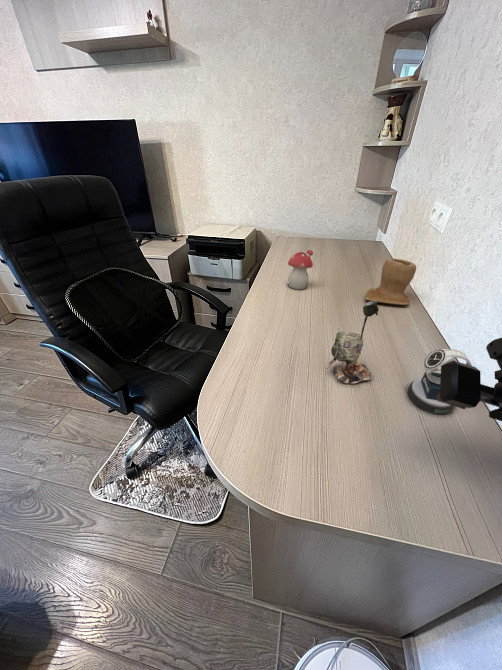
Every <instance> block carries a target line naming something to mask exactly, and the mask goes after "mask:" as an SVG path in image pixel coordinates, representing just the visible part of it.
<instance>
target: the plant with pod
mask: <svg viewBox="0 0 502 670" xmlns="http://www.w3.org/2000/svg"><path fill="white" fill-rule="evenodd" d="M362 313H363V316H365V317H364V320H363V324H362V327H361V328H362V329H361V333H356V332H352V331H347V330H342V331H338V330H340V328H337V333H336V335H335V339H334V343H333V345H332V346H331V349H330V351H331V352H330V353H331V356H332V357H333V359H332V360H330V362H329V363H328V365H326V368H325V370H329V368H330V367H331V366H332V365H333V364H334V363H335V362H336V361H338V362H341V364H336V365H334V366H333V372H334V375H335V377H336V379H337V381H338V382H340V383H342V384H357V383H360V382H364V381H370V380H371V379H372V375H371V374H372V372H369V369H368V368H367V365H365V364H363V363H358V360H359V358H360V355H362V350H363V347H364V338H363V335H364V330H365V328H366V324H367V320H368V317H369V318H370V317H372V316H374V315H375V316H379V306H378V302H376V301H375V300H373V301H368V302H366V303H364V305H363V306H362Z"/></svg>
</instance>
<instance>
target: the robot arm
mask: <svg viewBox="0 0 502 670" xmlns="http://www.w3.org/2000/svg"><path fill="white" fill-rule="evenodd" d="M485 350H486V351H487V354H488V356H489V359H491V360H495V361H496V362H497V365H498V368H499V369H498V370H494V371H493V372H494V380H497V382H495V384H494V385H493V386H489V385H485V384H482V383H481V381H482V379H481V370H479V369H478V367H476V366H473V365H472V366H470V365H467V364H466V363H464V362H460V361H456V360H455V359H453V360H452V361H450V362H448V363H445V364H443V365H442V366H441V371H440V374H441V380H440V393H439V394H438V395H437V401H439V402H442V403H446V404H449V405H452V406H453V407H455V408H459V409H462V410H466V409H472V408H476V407H477V406H478V404H479V403H484V404H487V405H490V406H493V407H497V408H495V409H492V410H489V411H488V417H489V419H492V420H496V421H500V422H502V337H498V338H495V339H493V340H492V341H490V342H489V343H488V344H486V347H485Z"/></svg>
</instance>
